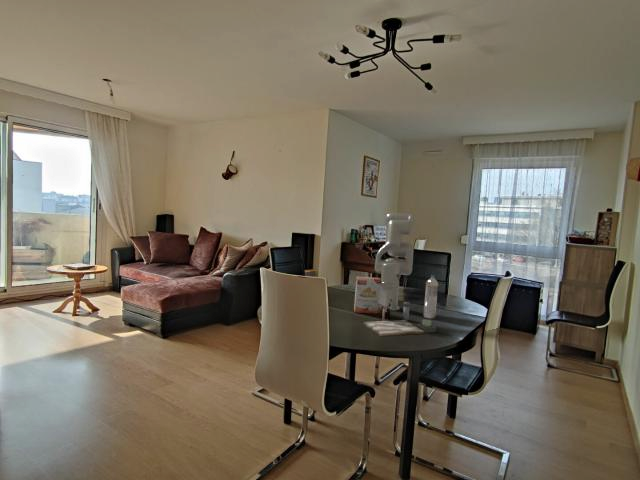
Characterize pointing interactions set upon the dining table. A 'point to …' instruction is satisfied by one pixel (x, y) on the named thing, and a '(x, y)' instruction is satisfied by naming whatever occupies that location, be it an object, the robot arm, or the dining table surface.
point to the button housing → (426, 328)
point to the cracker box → (367, 295)
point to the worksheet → (393, 328)
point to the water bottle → (430, 298)
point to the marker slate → (406, 311)
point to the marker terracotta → (384, 314)
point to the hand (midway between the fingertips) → (385, 317)
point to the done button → (426, 323)
